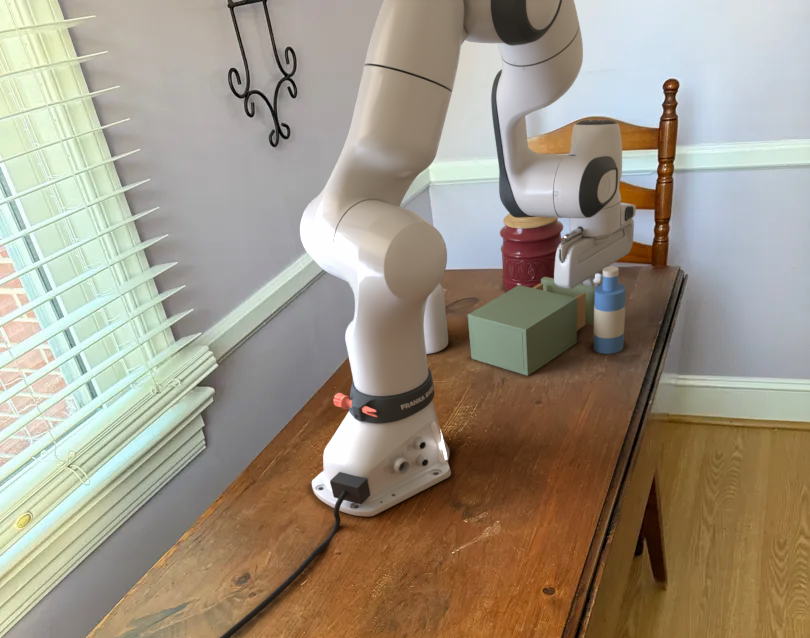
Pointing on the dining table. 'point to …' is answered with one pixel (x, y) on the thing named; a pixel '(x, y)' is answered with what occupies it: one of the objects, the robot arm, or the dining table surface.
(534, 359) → the cabinet
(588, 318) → the drawer
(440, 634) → the dining table surface
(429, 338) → the pill bottle
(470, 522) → the dining table surface
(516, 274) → the kitchen canister
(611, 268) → the bottle
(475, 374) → the dining table surface
